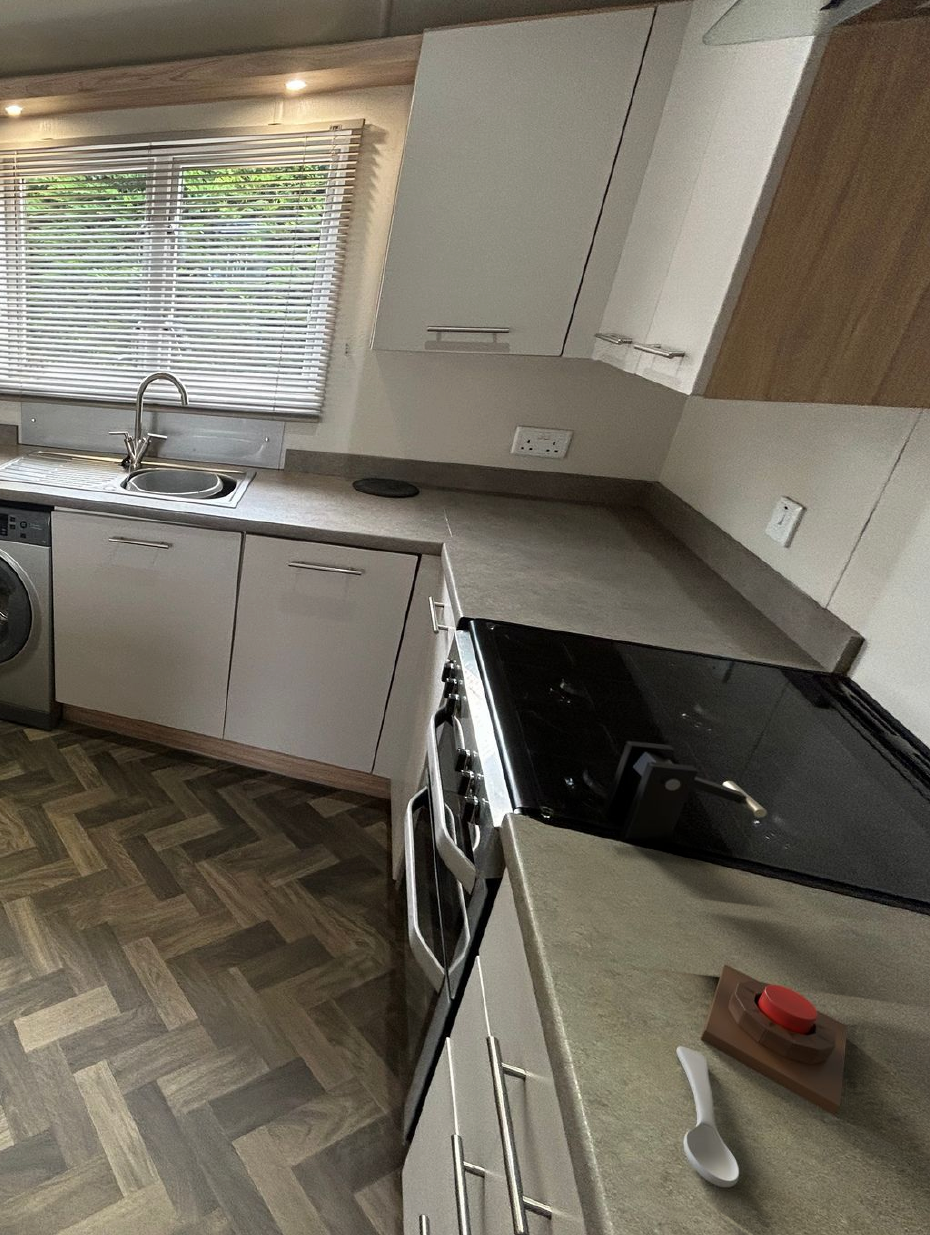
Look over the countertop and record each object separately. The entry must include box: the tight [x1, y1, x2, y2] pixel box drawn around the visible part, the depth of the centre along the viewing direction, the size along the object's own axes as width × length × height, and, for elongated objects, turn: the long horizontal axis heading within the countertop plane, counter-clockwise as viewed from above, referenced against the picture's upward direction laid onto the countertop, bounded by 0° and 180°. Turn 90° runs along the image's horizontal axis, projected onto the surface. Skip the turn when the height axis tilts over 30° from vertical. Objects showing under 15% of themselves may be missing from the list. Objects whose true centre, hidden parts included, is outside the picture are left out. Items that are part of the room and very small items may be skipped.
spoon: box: [676, 1045, 740, 1188], centre depth 54 cm, size 3×12×2 cm, turn 145°
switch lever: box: [633, 751, 768, 819], centre depth 79 cm, size 12×5×2 cm, turn 80°
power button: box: [758, 984, 818, 1034], centre depth 59 cm, size 3×3×2 cm
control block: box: [700, 963, 848, 1116], centre depth 60 cm, size 10×8×3 cm
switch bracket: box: [600, 740, 699, 847], centre depth 81 cm, size 11×9×12 cm
